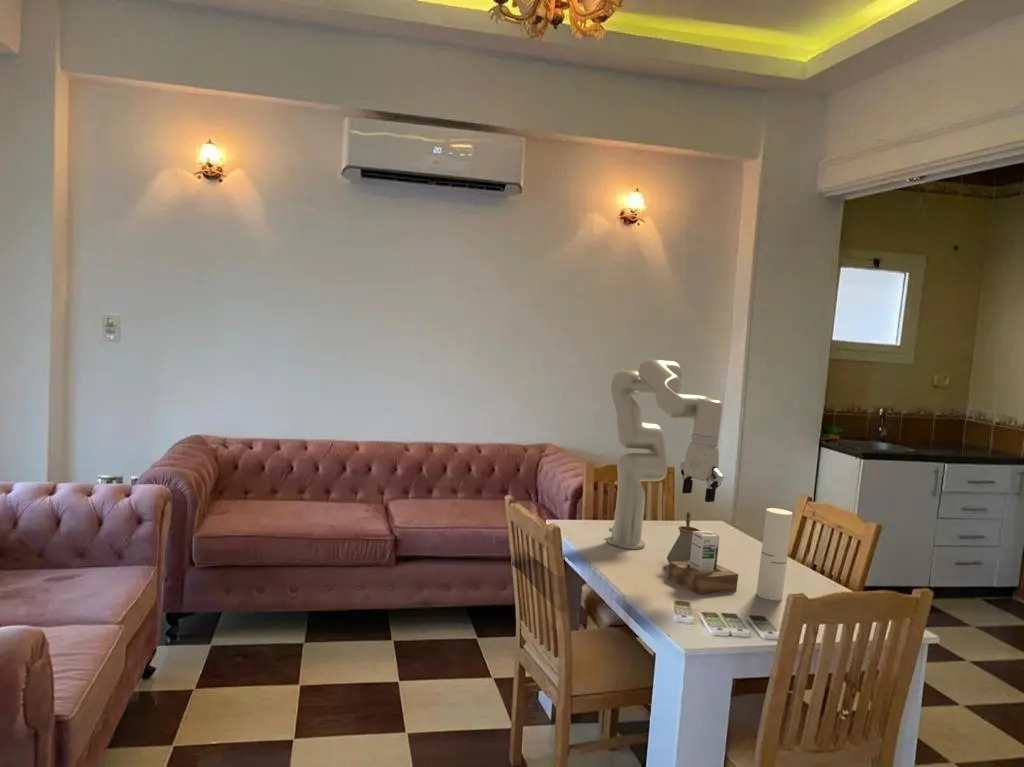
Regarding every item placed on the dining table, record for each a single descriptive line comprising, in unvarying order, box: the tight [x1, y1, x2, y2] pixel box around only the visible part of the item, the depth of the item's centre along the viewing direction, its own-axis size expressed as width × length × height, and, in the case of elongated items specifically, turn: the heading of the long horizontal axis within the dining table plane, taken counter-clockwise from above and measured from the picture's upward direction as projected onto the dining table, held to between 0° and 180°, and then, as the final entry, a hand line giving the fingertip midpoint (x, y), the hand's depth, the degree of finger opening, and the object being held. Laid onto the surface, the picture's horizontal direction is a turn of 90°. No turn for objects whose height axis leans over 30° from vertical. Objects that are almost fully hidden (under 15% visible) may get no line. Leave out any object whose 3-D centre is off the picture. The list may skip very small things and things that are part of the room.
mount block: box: [667, 560, 739, 596], centre depth 224 cm, size 14×14×5 cm
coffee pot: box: [666, 511, 701, 565], centre depth 242 cm, size 21×12×15 cm, turn 168°
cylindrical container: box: [756, 507, 794, 601], centre depth 218 cm, size 7×7×25 cm
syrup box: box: [690, 530, 720, 573], centre depth 224 cm, size 6×6×14 cm
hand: (697, 497), depth 225 cm, fingers open, 9 cm apart
